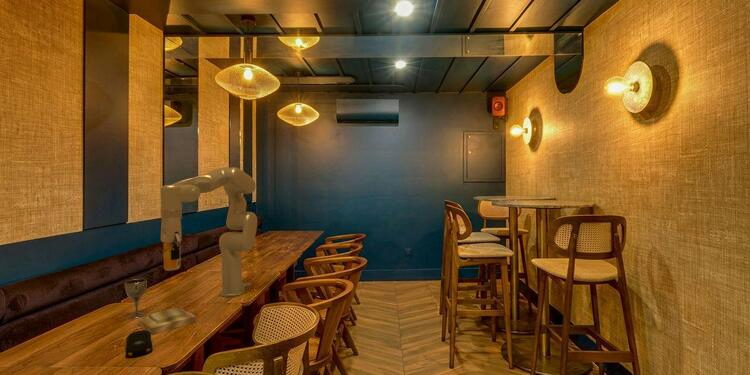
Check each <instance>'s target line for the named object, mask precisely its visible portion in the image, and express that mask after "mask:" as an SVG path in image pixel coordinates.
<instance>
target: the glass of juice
mask: <svg viewBox="0 0 750 375" xmlns="http://www.w3.org/2000/svg"><path fill="white" fill-rule="evenodd" d="M173 242H176V240H174V241H173ZM162 244H163V246H162V247H163V248H162V249H163V269H164V270H165V271H166V272H167V271H168V272H169V271H176V270H177V271H178V270H180V268H181V265H182V264H181V262H182V261H181V256H180V259H176V260H171V250H172V248H171V243H166V241H165V235H164V236H163V242H162ZM174 245H175V244H174Z"/></svg>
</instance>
